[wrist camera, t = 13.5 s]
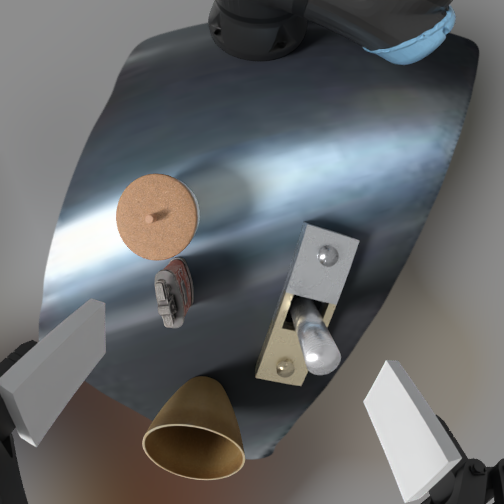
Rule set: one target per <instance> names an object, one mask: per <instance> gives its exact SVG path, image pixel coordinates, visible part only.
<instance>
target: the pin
mask: <svg viewBox="0 0 504 504" xmlns="http://www.w3.org/2000/svg"><path fill="white" fill-rule="evenodd" d="M290 313H291V317H292V320H293V323H294V326H295V330H296V333H297V336H298V340H299V343H300V347H301V350H302V353H303V357H304V360H305V363H306V367H307V369H308V370H309V371H310V372H311V373H313V374H315V375H325V374H328V373H330V372H332V371H333V370H335V369H336V368H337V366H338V365H339V363H340V360H341V355H340V352H339V350H338V348H337V346H336V344H335V342H334V340H333V338H332V336H331V335H330V333H329V331H328V329H327V327H326V325H325V323H324V321H323V319H322V317H321V315H320V313H319V311H318V310H317V308H316V306H315V304H314V302H313V301H312V299H310V298H306V297H302V296H301V297H298V298H296V299H294V300H293V301H292V303H291V305H290Z"/></svg>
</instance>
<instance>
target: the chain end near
mask: <svg viewBox="0 0 504 504" xmlns="http://www.w3.org/2000/svg"><path fill="white" fill-rule="evenodd" d="M358 244H359V240H357V239H355V238H353V237H351V236H348V235H344V234H341V233H338V232H335V231H332V230H329V229H325V228H322V227H319V226H316V225H312V224H309V223H306V222H303V225H302V229H301V232H300V235H299V239H298V242H297V245H296V248H295V251H294V255H293V258H292V261H291V264H290V267H289V270H288V273H287V276H286V279H285V282H284V286H283V289H282V292H281V295H280V298H279V301H278V304H277V306H276V309H275V312H274V315H273V321H274V319H275V316H276V313H277V310H278V307H279V304H280V301H281V298H282V295H283V292H284V289H285V292H286V293H290V294H294V295H298V296H302V297H306V298H310V299H314V300H318V301H322V304H321V307H320V309H319V313H320V315H321V313H322V311H323V308H324V306H325V303H330V304H335V305H337V302H338V300H339V297H340V295H341V292H342V289H343V287H344V284H345V281H346V278H347V276H348V273H349V270H350V267H351V264H352V261H353V259H354V256H355V253H356V250H357V247H358Z"/></svg>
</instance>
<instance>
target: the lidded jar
mask: <svg viewBox="0 0 504 504" xmlns="http://www.w3.org/2000/svg"><path fill="white" fill-rule="evenodd" d="M116 221H117V227H118V231H119V233H120V236H121V238H122V240H123V241H124V243H125V244H126V245H127V247H128V248H129V249H130V250H131V251H132V252H134V253H135V254H137V255H138V256H141V257H143V258H146V259H149V260H165V259H169V258H171V257H174V256H176V255H177V254H179V253H180V252H181V251H183V250H184V249H185V248H186V247H187V245H188V244H189V243H190V241H191V240H192V238H193V237H194V235H195V233H196V231H197V229H198V225H199V221H200V209H199V204H198V201H197V198H196V196H195V195H194V193H193V192H192V190H191V189H190V188H189V187H188V186H187V185H186V184H185V183H183V182H182V181H180V180H178V179H176V178H173V177H171V176H168V175H164V174H148V175H145V176H142V177H140V178H138V179H136V180H135V181H133V182H132V183H131V184H130V185H129V186H128V187H127V188H126V189H125V190H124V192H123V193H122V195H121V197H120V200H119V202H118V206H117V212H116Z"/></svg>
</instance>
